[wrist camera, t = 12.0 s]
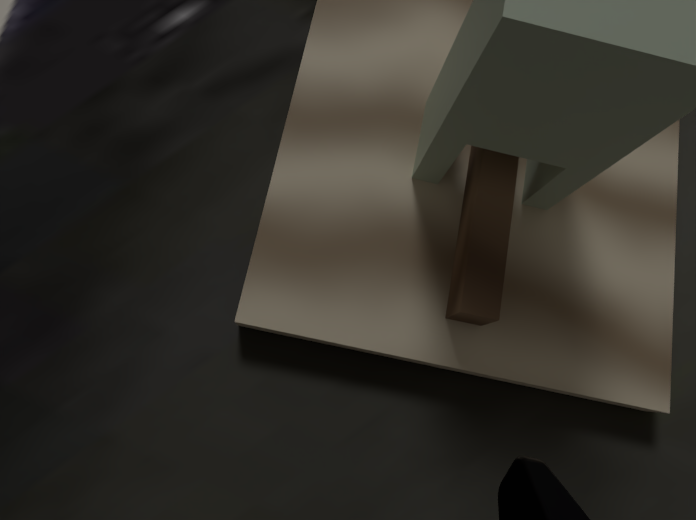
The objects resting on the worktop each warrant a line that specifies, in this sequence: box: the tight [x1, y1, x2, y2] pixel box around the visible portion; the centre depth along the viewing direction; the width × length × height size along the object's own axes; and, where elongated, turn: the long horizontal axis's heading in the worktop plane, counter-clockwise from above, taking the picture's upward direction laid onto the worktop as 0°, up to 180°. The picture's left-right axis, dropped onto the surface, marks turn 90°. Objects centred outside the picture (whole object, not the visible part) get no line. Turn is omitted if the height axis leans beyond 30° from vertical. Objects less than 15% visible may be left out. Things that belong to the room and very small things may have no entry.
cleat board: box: [235, 0, 679, 413], centre depth 23 cm, size 20×19×4 cm
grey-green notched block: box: [412, 0, 696, 210], centre depth 19 cm, size 4×6×10 cm, turn 78°
